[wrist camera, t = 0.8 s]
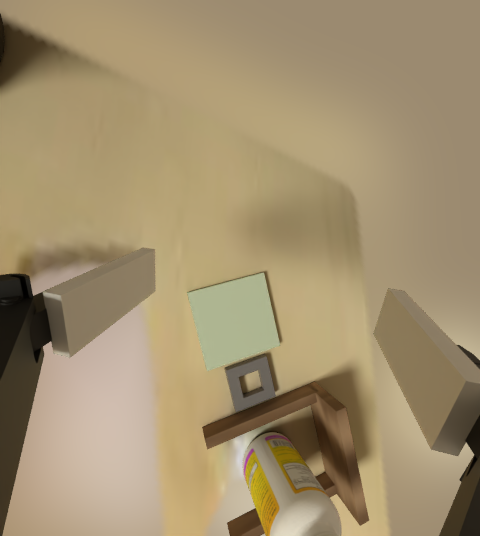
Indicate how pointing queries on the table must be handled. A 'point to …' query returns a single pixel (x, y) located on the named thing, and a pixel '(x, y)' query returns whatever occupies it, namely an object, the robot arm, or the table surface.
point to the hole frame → (256, 395)
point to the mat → (234, 320)
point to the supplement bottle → (287, 490)
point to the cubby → (330, 440)
